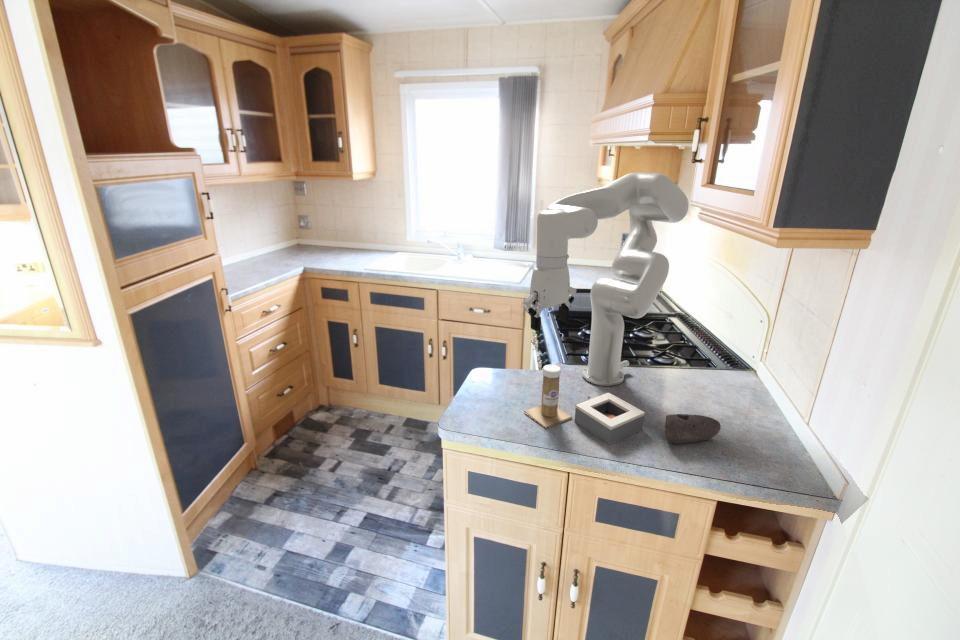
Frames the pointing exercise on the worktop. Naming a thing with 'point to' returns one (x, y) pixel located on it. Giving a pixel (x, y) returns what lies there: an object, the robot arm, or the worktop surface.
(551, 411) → the sprinkles bottle
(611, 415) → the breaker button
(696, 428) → the perforated stone tool
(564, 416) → the coaster
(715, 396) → the worktop surface
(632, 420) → the grey square open box
